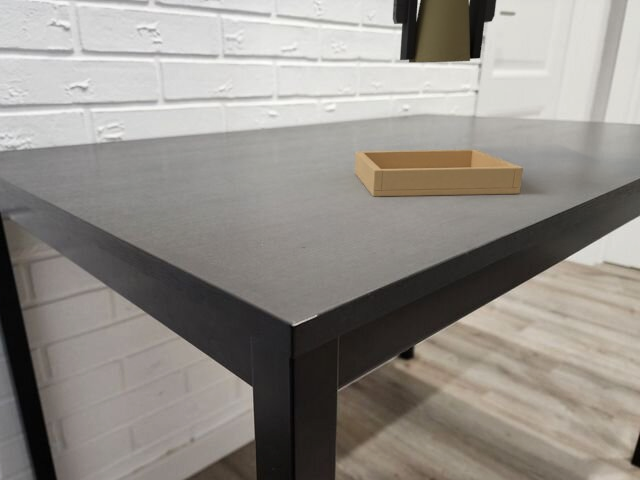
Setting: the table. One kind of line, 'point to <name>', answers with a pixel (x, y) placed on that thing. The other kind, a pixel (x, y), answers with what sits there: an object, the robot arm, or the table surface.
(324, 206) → the table surface
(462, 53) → the olive pawn
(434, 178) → the tray
